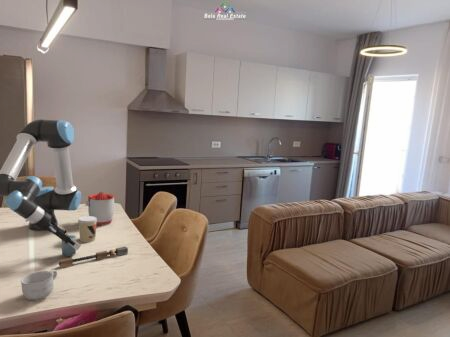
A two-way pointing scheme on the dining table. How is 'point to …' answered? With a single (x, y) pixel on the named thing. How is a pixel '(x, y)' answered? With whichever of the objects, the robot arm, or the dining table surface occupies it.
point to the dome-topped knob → (68, 247)
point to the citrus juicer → (101, 207)
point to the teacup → (38, 284)
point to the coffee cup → (87, 228)
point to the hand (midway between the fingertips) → (76, 245)
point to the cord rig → (94, 256)
